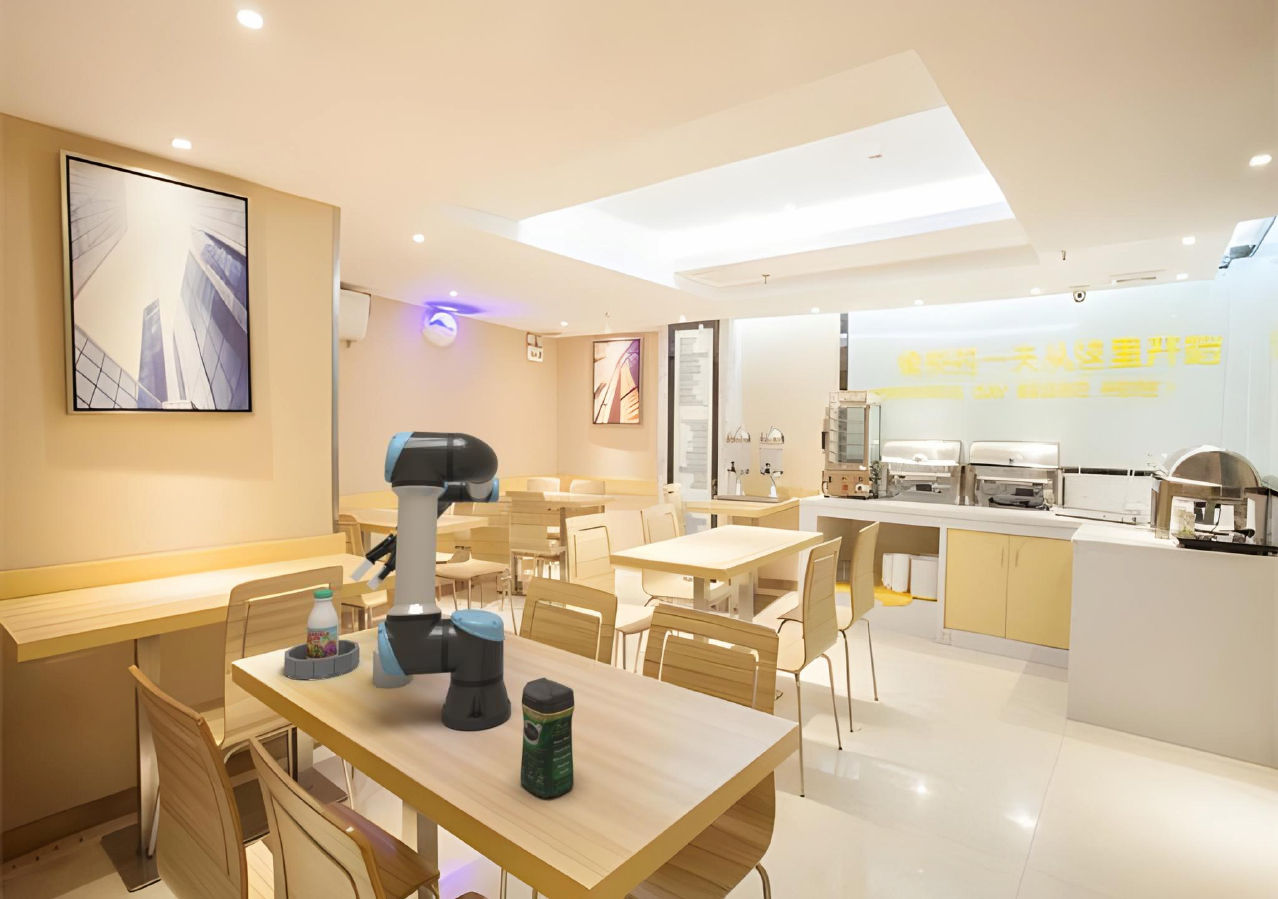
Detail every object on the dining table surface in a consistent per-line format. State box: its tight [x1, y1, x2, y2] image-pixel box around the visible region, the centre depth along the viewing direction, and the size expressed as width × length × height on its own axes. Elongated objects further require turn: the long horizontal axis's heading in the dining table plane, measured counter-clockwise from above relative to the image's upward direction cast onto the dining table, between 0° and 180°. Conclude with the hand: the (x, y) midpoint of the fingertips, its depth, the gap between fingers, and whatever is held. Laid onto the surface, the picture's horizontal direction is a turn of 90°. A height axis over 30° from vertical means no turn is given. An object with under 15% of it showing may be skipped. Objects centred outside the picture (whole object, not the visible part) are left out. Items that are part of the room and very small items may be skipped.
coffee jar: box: [520, 677, 576, 798], centre depth 116 cm, size 10×8×19 cm
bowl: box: [283, 639, 360, 680], centre depth 173 cm, size 18×18×5 cm
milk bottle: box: [306, 588, 340, 660], centre depth 173 cm, size 8×8×20 cm
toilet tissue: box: [372, 646, 414, 690], centre depth 166 cm, size 9×13×9 cm
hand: (361, 583), depth 180 cm, fingers open, 13 cm apart
